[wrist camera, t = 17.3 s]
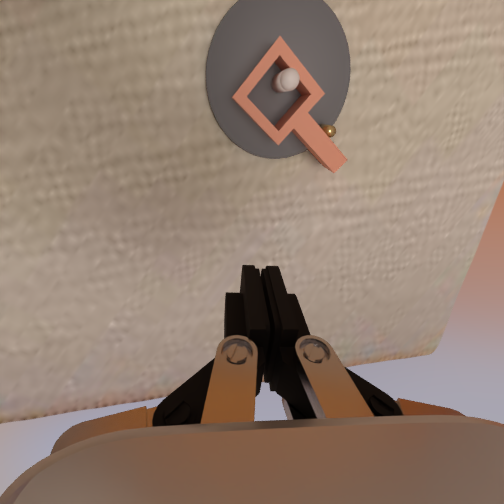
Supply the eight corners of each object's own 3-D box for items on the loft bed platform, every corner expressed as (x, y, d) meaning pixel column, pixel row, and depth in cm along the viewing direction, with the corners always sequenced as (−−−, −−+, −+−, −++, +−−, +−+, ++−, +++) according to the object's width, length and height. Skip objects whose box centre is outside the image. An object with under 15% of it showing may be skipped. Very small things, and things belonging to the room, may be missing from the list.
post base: (207, -27, 25) (201, -69, 19) (365, 0, 27) (408, -31, 21) (205, 151, 33) (201, 163, 26) (328, 162, 35) (351, 175, 28)
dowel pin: (318, 123, 31) (326, 125, 29) (327, 124, 32) (337, 126, 29) (316, 134, 32) (324, 136, 29) (325, 135, 32) (334, 138, 30)
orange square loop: (231, 97, 29) (232, 97, 26) (273, 43, 27) (280, 35, 24) (309, 179, 35) (318, 187, 31) (349, 139, 33) (363, 143, 29)
